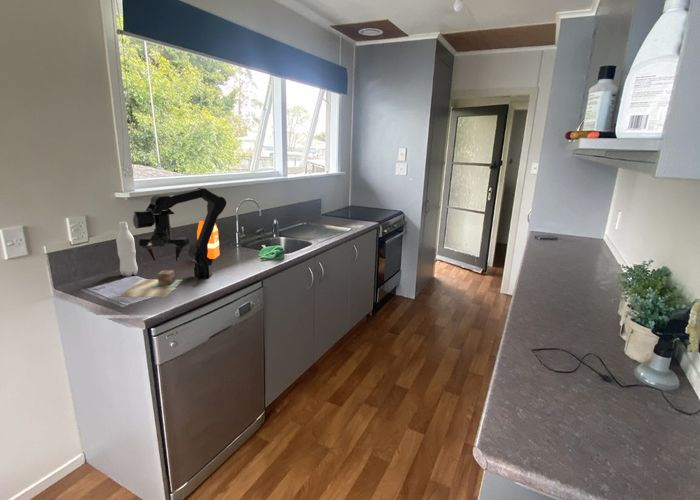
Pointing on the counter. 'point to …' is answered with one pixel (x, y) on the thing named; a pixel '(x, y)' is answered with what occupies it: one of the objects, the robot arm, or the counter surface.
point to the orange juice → (211, 241)
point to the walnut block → (166, 277)
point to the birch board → (149, 289)
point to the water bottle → (126, 251)
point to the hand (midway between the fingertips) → (166, 260)
